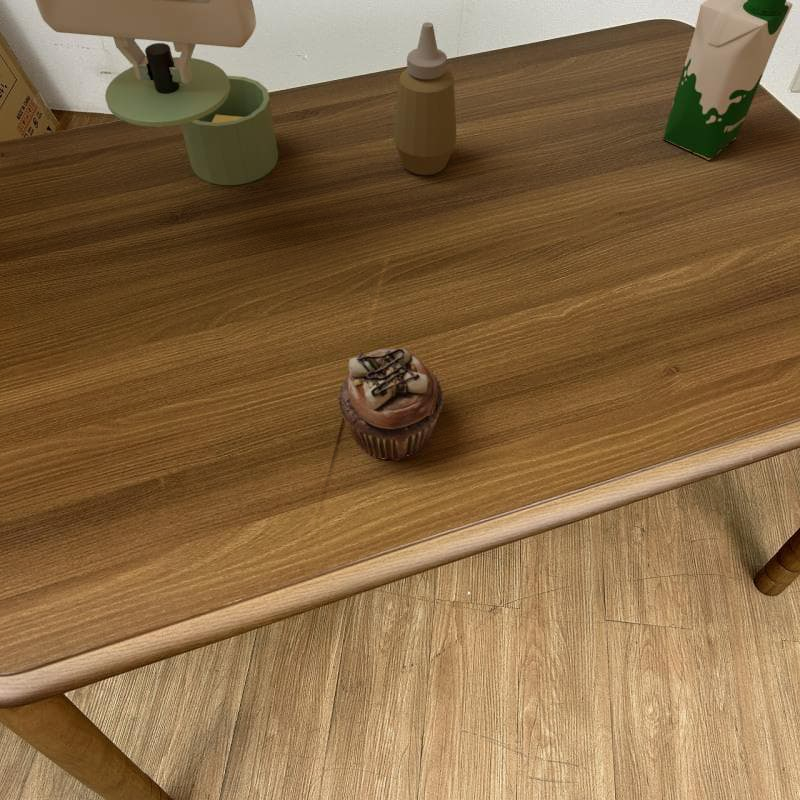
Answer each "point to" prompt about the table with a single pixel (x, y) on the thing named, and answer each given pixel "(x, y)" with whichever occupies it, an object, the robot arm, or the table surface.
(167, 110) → the lid
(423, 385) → the cupcake
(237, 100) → the tin
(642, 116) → the table surface
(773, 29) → the milk carton
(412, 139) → the squeeze bottle
